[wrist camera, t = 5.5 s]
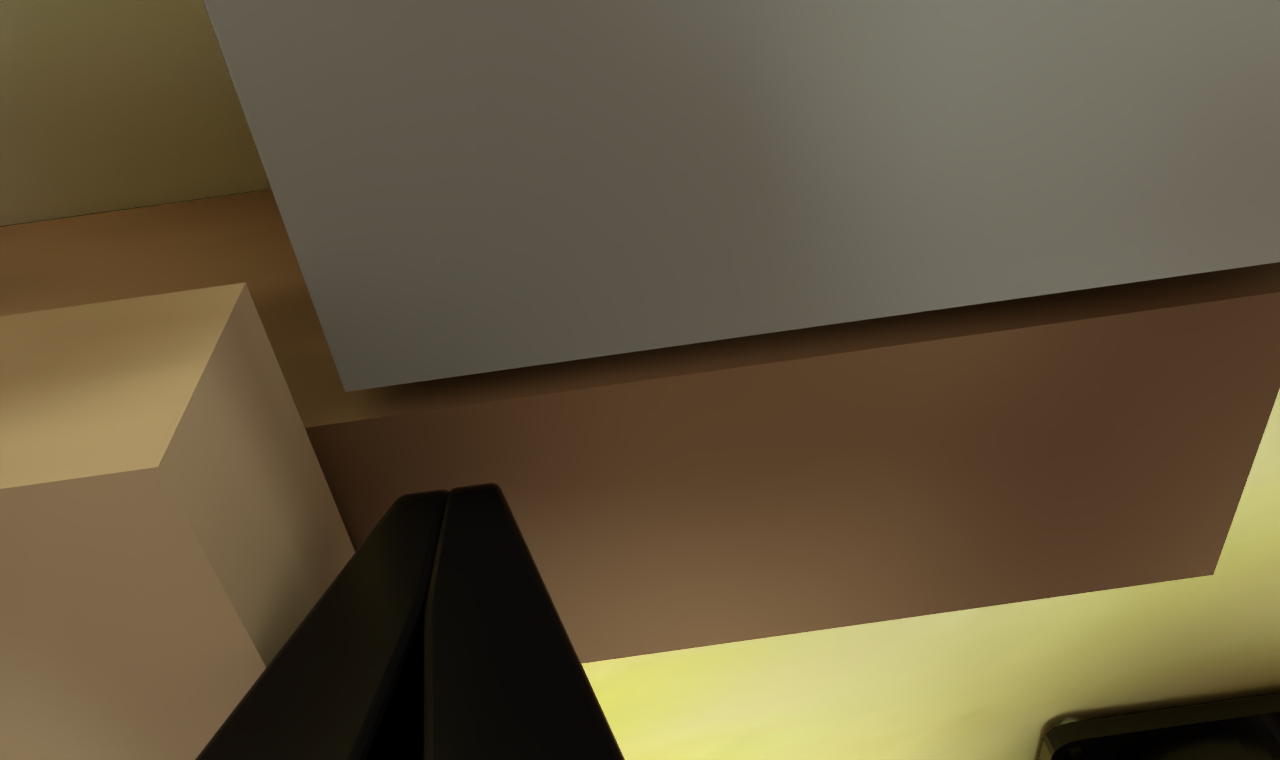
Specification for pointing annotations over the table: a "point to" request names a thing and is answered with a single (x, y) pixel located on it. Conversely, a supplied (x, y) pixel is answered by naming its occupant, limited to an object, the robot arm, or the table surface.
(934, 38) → the toolbox lid
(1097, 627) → the table surface
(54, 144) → the table surface
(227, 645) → the tan rectangular block
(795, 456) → the toolbox
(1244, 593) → the table surface
